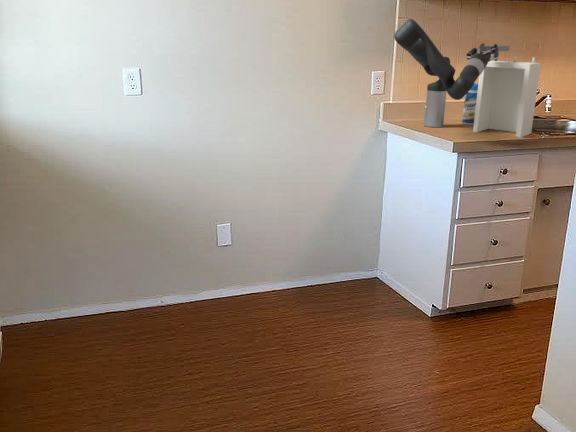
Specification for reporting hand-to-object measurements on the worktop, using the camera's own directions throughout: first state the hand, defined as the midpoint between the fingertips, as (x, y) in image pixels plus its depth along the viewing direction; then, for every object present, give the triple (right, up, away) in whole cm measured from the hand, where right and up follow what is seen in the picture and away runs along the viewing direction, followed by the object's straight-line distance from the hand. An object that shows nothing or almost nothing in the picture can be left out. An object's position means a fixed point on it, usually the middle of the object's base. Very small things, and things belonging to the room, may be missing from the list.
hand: (489, 45), depth 275 cm
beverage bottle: (+3, -29, +41) cm, 50 cm away
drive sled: (+4, -1, +6) cm, 7 cm away
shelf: (+11, -36, +17) cm, 41 cm away
